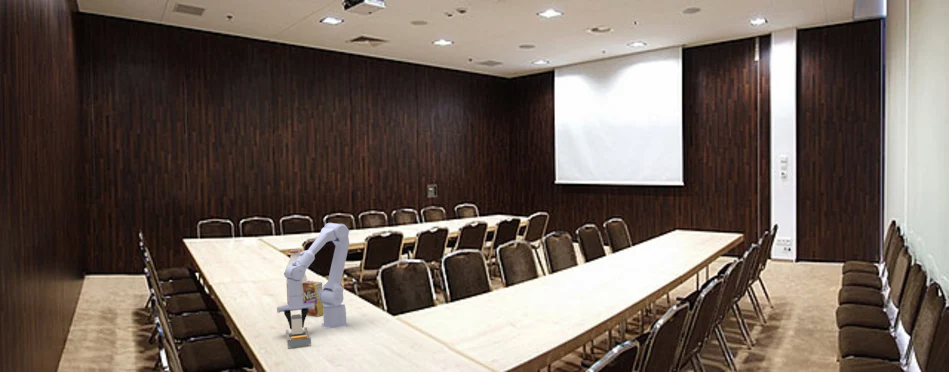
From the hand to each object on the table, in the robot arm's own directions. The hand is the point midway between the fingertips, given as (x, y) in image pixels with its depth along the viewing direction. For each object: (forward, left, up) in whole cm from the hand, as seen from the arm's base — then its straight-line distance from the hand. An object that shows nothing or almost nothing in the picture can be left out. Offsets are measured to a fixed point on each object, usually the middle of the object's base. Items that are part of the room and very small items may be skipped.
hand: (296, 327), depth 240 cm
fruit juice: (-3, -47, -4) cm, 47 cm away
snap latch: (0, +13, -3) cm, 13 cm away
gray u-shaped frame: (0, +6, -3) cm, 7 cm away
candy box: (-9, -30, -4) cm, 32 cm away
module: (0, 0, -2) cm, 2 cm away
